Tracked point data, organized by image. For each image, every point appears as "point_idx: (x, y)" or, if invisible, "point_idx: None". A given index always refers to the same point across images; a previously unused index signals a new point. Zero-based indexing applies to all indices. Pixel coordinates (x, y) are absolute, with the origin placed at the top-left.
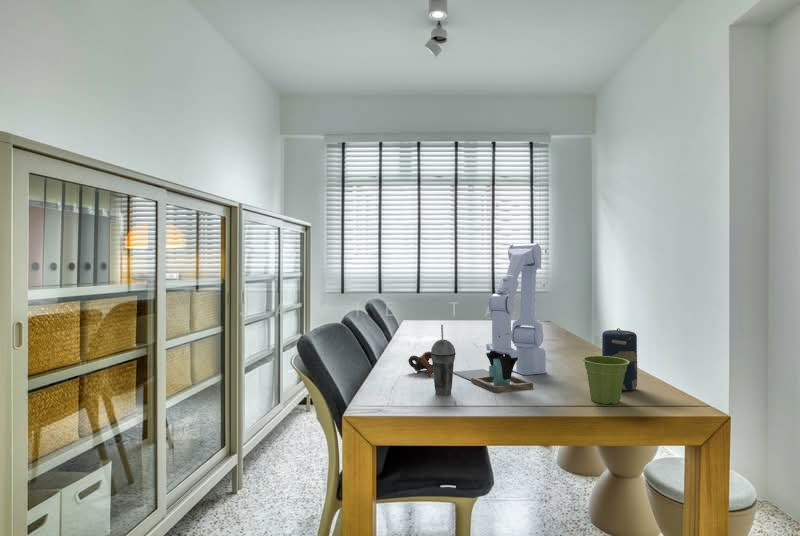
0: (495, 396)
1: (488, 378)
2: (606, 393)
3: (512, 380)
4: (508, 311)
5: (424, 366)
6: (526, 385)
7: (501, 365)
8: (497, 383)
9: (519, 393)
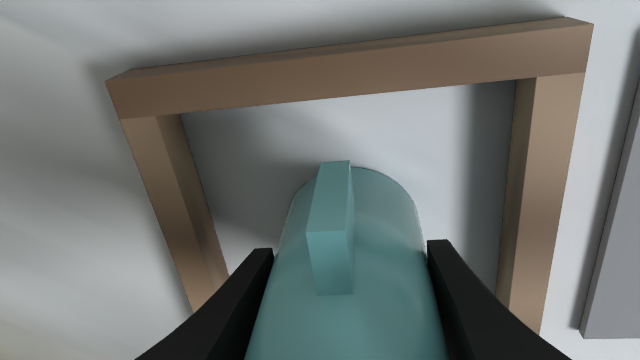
0: (5, 16)
1: (515, 200)
2: None
3: None
4: None
5: None
6: None
7: (216, 337)
8: (312, 189)
9: (104, 225)
